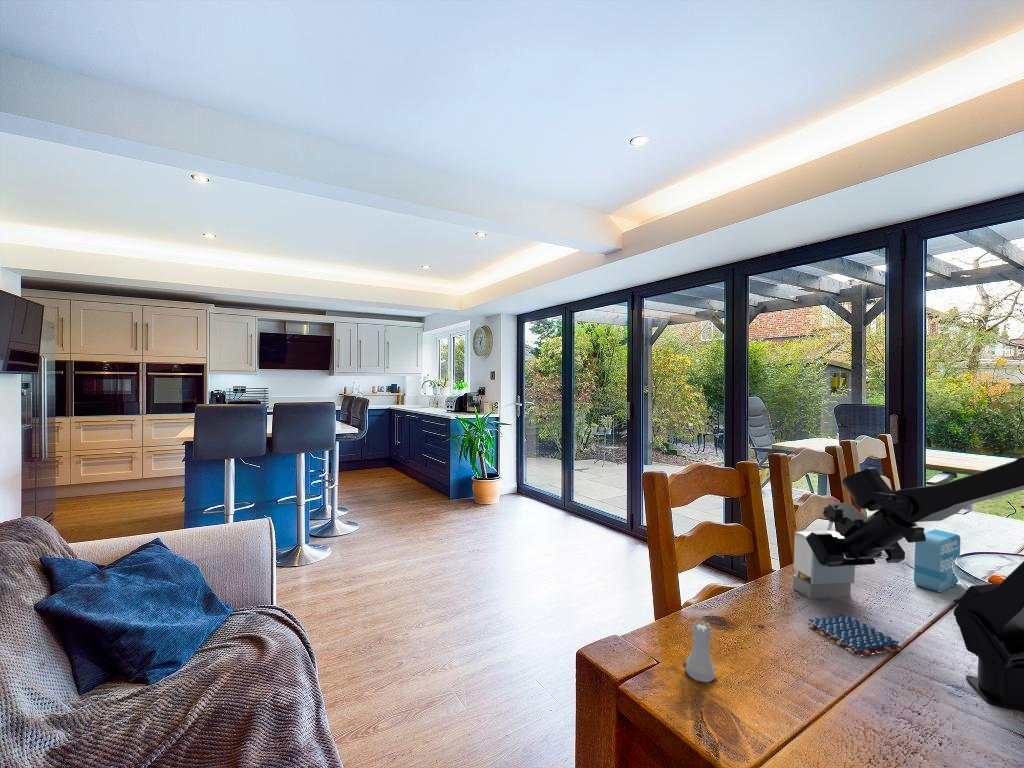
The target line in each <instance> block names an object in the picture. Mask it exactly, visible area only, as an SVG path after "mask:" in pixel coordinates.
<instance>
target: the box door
mask: <svg viewBox="0 0 1024 768" xmlns="http://www.w3.org/2000/svg"><path fill="white" fill-rule="evenodd" d="M855 569H856V565H854V566H836V567H828V566H823V565H821V564H820V563H819V562H818V560H817V558H816V556H815V555H814V553H813V551H812V564H811V584H838V583H851V584H854V583H855V571H856V570H855Z"/></svg>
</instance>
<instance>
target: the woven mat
mask: <svg viewBox="0 0 1024 768" xmlns="http://www.w3.org/2000/svg"><path fill="white" fill-rule="evenodd" d="M808 621H809V623H807V625H808V628H809V629H811V630H815V632H816V633H818V632H819V634H820V636H822V635H823V637H824V636H825V635H826V639H828V640H830V642H831V643H833V642H835V644H836V645H837V646H839V647H847V648H849V649H847V651H848V652H849V653H850V652H852V653H851V654H854V653H853V652H856V653H855V654H857V656H861V655H868V656H872V655H871V654H872V653H875V654H874V655H878V654H877V652H886V653H892V652H896V651H900V650H901V649H902V647H901V646H900V645H898V644H900V642H899V640H896V639H894V638H892V637H891V636H888V635H886V634H884V633H883V632H881V631H879V630H876V628H874V627H870V626H869V625H867V624H866V623H863V622H862V621H860V620H859V619H855V618H854V617H853V616H850V615H845V614H840V616H838V615H836V614H835V615H834V617H833V616H830V615H828V616H827V617H824V616H822V617H821V618H818V617H815V619H811V618H808ZM810 622H811V623H810ZM846 644H847V645H846ZM840 645H842V646H840ZM876 651H877V652H876ZM857 656H856V657H857Z"/></svg>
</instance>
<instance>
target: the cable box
mask: <svg viewBox="0 0 1024 768" xmlns="http://www.w3.org/2000/svg"><path fill="white" fill-rule="evenodd" d="M812 532H828V533H830V534H832V536H833V537H838V539H839V538H844V536H841V535H840V533H839V532H838V531H836V530H812V531H811V530H808V531H807V530H806V531H805V530H804V531H803V530H801V531H794V545H793V546H794V547H793V550H794V551H793V569H794V570H795V574H793V575H792V589H794V590H795V591H797V592H799V593H800V594H802V595H804V596H805V597H807V598H808V599H811V600H812V599H824V598H825V599H827V598H830V599H831V598H843V597H845V598H846V597H848V598H849V597H851V591H852V590H851V589H852V588H851V586H852V583H838V584H811V564H812V549H811V547H810V546H809V544H808V542H807V540H806V537H807V536H808V535H809V534H810V533H812Z"/></svg>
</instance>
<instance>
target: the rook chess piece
mask: <svg viewBox="0 0 1024 768" xmlns="http://www.w3.org/2000/svg"><path fill="white" fill-rule="evenodd" d="M690 632H691V633H692V634H693V635H692V636H691V640H692V648H691V653H690V654H689V656H688V658H687V659H686V662H685V671H686V673H687V675H688V676H689V677H690V678H691V679H692V680H695V681H697V682H699V683H711V682H712V681H713V680H714V679H715V678H716V673H715V672H716V668H715V665H714V663H713V661H712V658H711V652H710V645H711V643H712V642H711V640H710V638H711V637H712V635H713V631H712V630H711V626H710V624H709V623H708V622H707V623H705V621H702V620H700V623H699V620H695V621H693V623H692V626H691V627H690Z"/></svg>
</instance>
